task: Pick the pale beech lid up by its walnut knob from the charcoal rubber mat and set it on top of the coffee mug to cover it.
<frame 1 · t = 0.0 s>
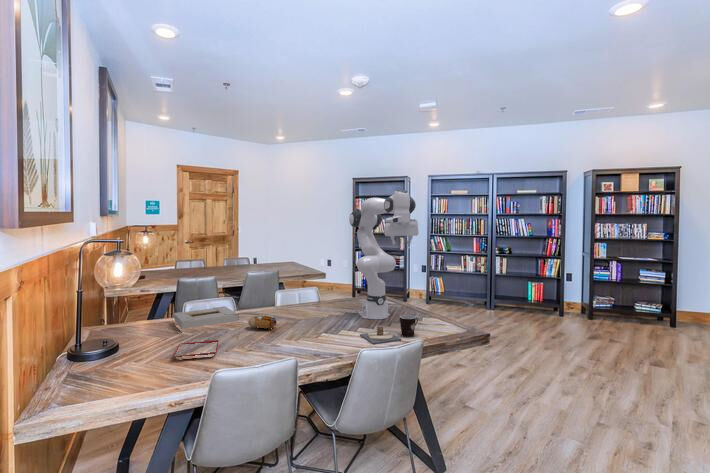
hand: (401, 244, 217), 48 cm above the table, tool pointing down, fingers open, 8 cm apart
box: (205, 325, 230), on the table
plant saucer: (197, 354, 180), on the table
coffee mug: (410, 335, 208), on the table
lid: (380, 336, 203), point 1 cm above the table, touching mat
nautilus: (265, 330, 219), on the table
mat: (380, 338, 203), on the table
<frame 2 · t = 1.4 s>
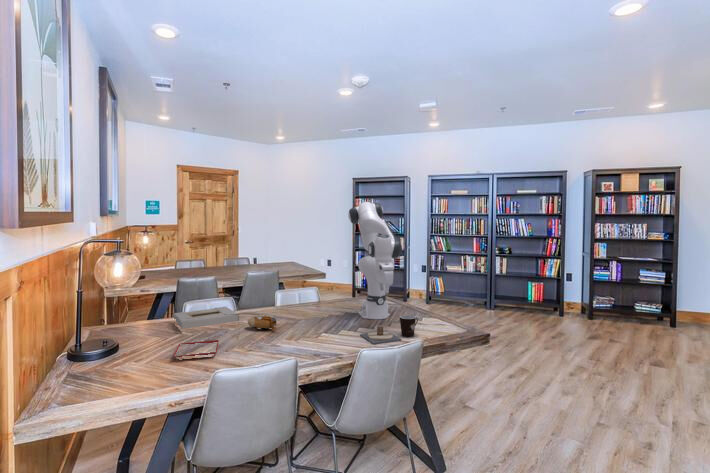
hand: (384, 291, 204), 24 cm above the table, tool pointing down, fingers open, 8 cm apart
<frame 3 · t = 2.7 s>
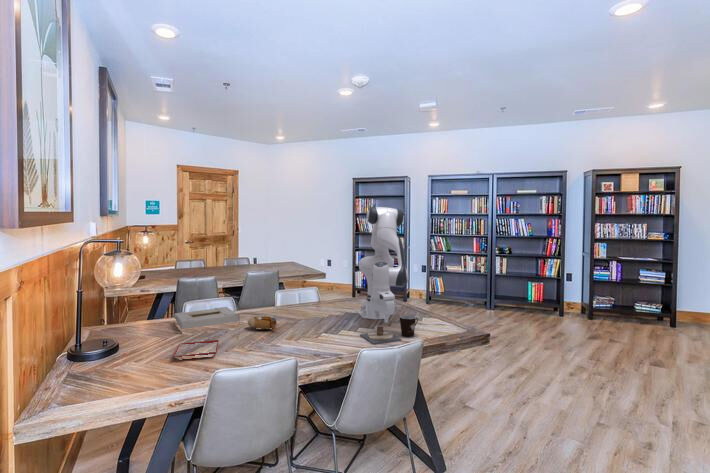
hand: (381, 320, 202), 9 cm above the table, tool pointing down, fingers open, 8 cm apart
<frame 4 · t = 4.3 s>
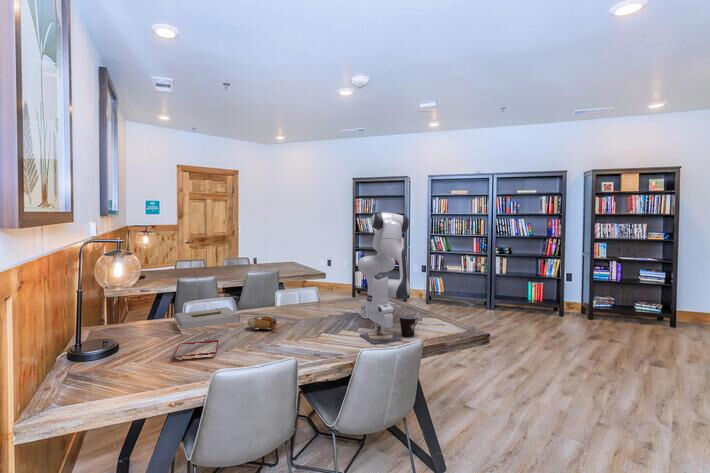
hand: (380, 332, 203), 3 cm above the table, tool pointing down, fingers closed on lid, 3 cm apart
lid: (380, 336, 203), point 1 cm above the table, touching gripper, mat
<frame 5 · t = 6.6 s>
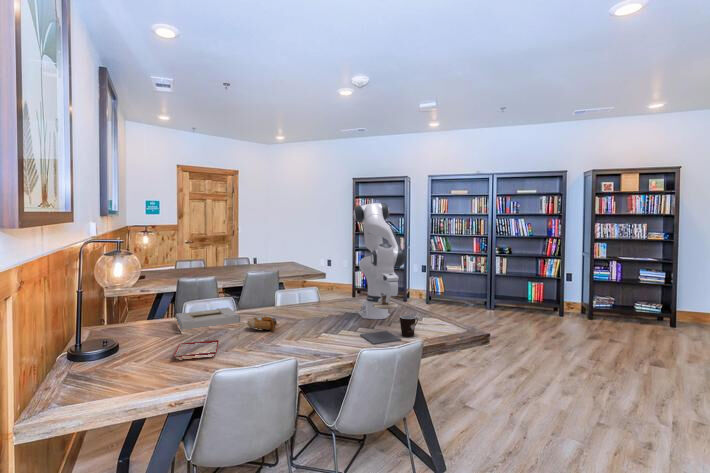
hand: (385, 301, 203), 19 cm above the table, tool pointing down, fingers closed on lid, 3 cm apart
box: (207, 326, 227), on the table
lid: (385, 306, 203), point 17 cm above the table, touching gripper
when the fingers open (14 cm above the table, at t = 9.0 s): lid drops 2 cm, resting on coffee mug.
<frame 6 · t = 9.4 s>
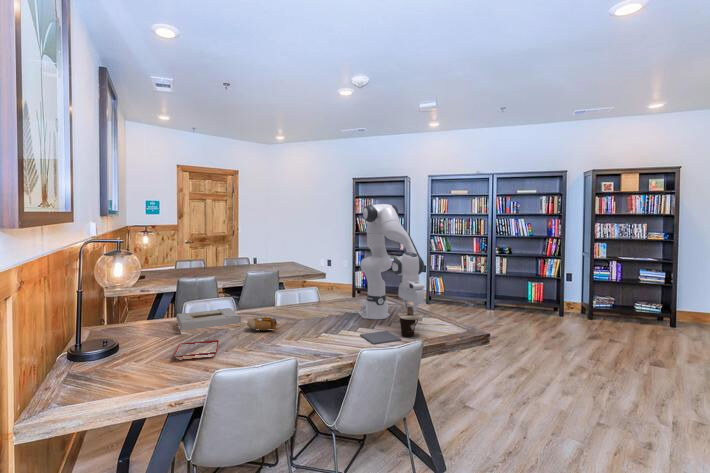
hand: (410, 309, 207), 14 cm above the table, tool pointing down, fingers open, 7 cm apart
box: (208, 327, 226), on the table
coffee mug: (410, 335, 208), on the table, touching lid
lid: (410, 316, 208), point 10 cm above the table, touching coffee mug
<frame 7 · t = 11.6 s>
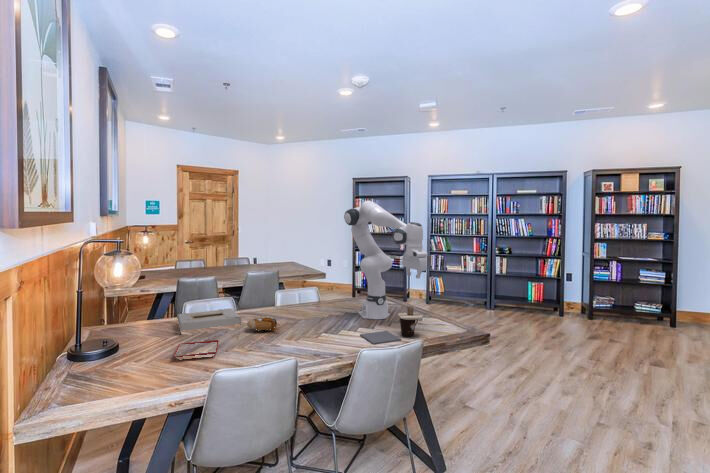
hand: (413, 276, 215), 30 cm above the table, tool pointing down, fingers open, 8 cm apart
box: (208, 327, 225), on the table
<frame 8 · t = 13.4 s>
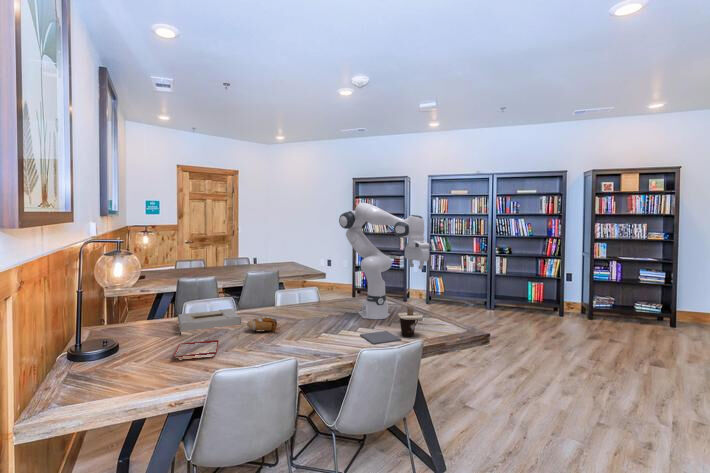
hand: (416, 267, 222), 34 cm above the table, tool pointing down, fingers open, 8 cm apart
at the end: lid 0.2 cm off-centre on the coffee mug, point 10.2 cm above the coffee mug's base; lid tilted 0°; the gripper is holding nothing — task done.
